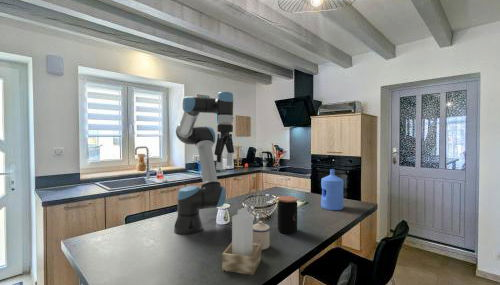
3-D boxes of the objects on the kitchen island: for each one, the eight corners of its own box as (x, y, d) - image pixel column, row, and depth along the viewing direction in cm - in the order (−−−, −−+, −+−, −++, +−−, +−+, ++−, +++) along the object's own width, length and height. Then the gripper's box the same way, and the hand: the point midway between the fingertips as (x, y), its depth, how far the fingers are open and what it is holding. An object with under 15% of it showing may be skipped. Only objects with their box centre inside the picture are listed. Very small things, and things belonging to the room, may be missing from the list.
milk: (252, 262, 103) (253, 208, 103) (242, 268, 98) (243, 211, 98) (241, 257, 107) (242, 205, 106) (231, 262, 102) (232, 208, 102)
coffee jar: (296, 235, 133) (297, 201, 133) (276, 233, 136) (276, 200, 135) (297, 228, 144) (297, 196, 144) (278, 226, 146) (278, 195, 146)
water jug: (345, 206, 189) (345, 169, 188) (340, 212, 175) (341, 171, 175) (324, 203, 197) (324, 167, 196) (318, 208, 184) (318, 169, 183)
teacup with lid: (263, 240, 126) (264, 217, 126) (273, 247, 118) (273, 223, 118) (241, 245, 121) (242, 220, 121) (250, 253, 113) (250, 227, 112)
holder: (222, 270, 98) (222, 253, 98) (232, 255, 110) (232, 240, 110) (253, 275, 95) (253, 258, 95) (261, 259, 107) (261, 244, 107)
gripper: (223, 123, 111) (222, 171, 112) (240, 124, 136) (239, 164, 136) (207, 123, 113) (206, 170, 114) (226, 124, 138) (226, 164, 138)
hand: (224, 167), depth 125 cm, fingers open, 13 cm apart
